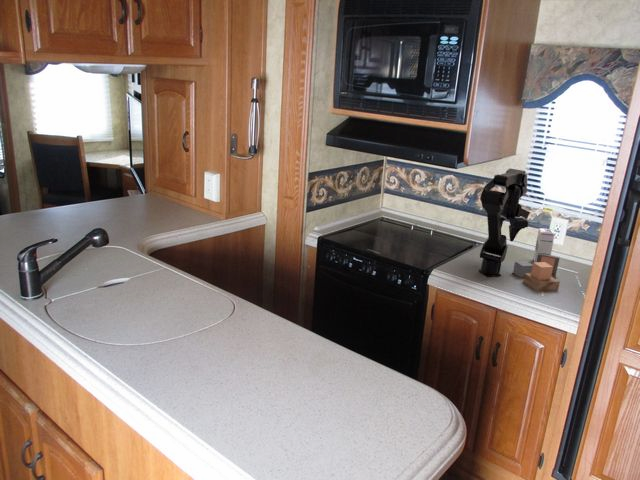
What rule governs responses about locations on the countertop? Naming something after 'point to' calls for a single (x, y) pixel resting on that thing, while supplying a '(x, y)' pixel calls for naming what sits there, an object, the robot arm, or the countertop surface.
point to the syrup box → (544, 242)
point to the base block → (541, 283)
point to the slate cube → (522, 268)
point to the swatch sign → (549, 262)
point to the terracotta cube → (541, 270)
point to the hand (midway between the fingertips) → (504, 237)
